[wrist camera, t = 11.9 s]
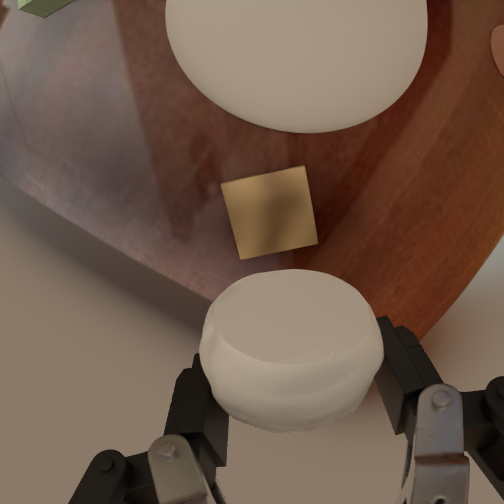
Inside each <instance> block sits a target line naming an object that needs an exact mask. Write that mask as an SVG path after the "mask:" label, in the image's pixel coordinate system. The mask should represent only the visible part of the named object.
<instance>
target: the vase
mask: <svg viewBox="0 0 504 504" xmlns="http://www.w3.org/2000/svg"><path fill="white" fill-rule="evenodd" d="M165 19H166V29H167V34H168V39H169V42H170V45H171V48H172V51H173V53H174V55H175V57H176V59H177V61H178V63H179V65H180V67H181V68H182V70H183V71H184V73H185V74H186V75H187V77H188V78H189V79H190V81H191V82H192V83H193V84H194V85H195V86H196V87H197V88H198V89H199V90H200V91H201V92H202V93H203V94H204V95H205V96H206V97H208V98H209V99H210V100H211V101H213V102H214V103H215V104H217V105H218V106H220V107H221V108H223V109H224V110H226V111H228V112H229V113H231V114H233V115H235V116H237V117H239V118H241V119H243V120H246V121H248V122H251V123H254V124H256V125H259V126H263V127H266V128H270V129H275V130H280V131H286V132H295V133H321V132H330V131H336V130H340V129H345V128H348V127H351V126H354V125H357V124H360V123H362V122H365V121H367V120H369V119H371V118H373V117H375V116H376V115H378V114H380V113H381V112H383V111H384V110H386V109H387V108H388V107H389V106H391V105H392V104H393V103H394V102H395V101H396V100H397V99H398V98H399V97H400V96H401V95H402V94H403V93H404V92H405V91H406V89H407V88H408V87H409V85H410V84H411V82H412V81H413V79H414V77H415V75H416V73H417V71H418V69H419V67H420V64H421V61H422V58H423V55H424V51H425V45H426V38H427V5H426V0H167V1H166V10H165Z"/></svg>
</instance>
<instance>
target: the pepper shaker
mask: <svg viewBox="0 0 504 504" xmlns="http://www.w3.org/2000/svg"><path fill="white" fill-rule="evenodd" d="M490 44H491V52H492V55H493V58H494V61H495V63H496V65H497V67H498V69H499V71H500V72H501V74H502V75H503V76H504V24H503V25H498V26H497V27H495V28H494V29H493V31H492V33H491V39H490Z"/></svg>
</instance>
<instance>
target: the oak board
mask: <svg viewBox="0 0 504 504" xmlns="http://www.w3.org/2000/svg"><path fill="white" fill-rule="evenodd" d="M221 188H222V192H223V196H224V200H225V203H226V207H227V211H228V215H229V218H230V222H231V226H232V230H233V233H234V237H235V241H236V245H237V248H238V252H239V256H240V259H241V260H243V259H248V258H253V257H258V256H262V255H267V254H272V253H277V252H281V251H286V250H291V249H296V248H300V247H305V246H310V245H314V244H318V238H317V232H316V226H315V220H314V214H313V208H312V203H311V197H310V192H309V186H308V181H307V176H306V170H305V166H304V165H300V166H295V167H290V168H285V169H280V170H276V171H271V172H266V173H262V174H257V175H252V176H248V177H244V178H239V179H235V180H231V181H227V182H222V183H221Z"/></svg>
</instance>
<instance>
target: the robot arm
mask: <svg viewBox="0 0 504 504" xmlns="http://www.w3.org/2000/svg"><path fill="white" fill-rule="evenodd" d="M376 321H377V323H378V325H379V328H380V332H381V336H382V340H383V347H384V358H383V362H382V364H381V366H380V368H379V370H378V371H377V373H376V374H375V376H374V380H375V382H376V385H377V387H378V390H379V392H380V395H381V398H382V400H383V403H384V405H385V408H386V410H387V413H388V416H389V419H390V421H391V424H392V427H393V429H394V432H395V435H398V434H401V433H405V435H406V438H407V440H408V441H407V445H406V451H405V458H404V466H403V472H402V478H401V484H400V490H399V494H398V498H397V501H396V504H468V494H469V475H470V474H469V473H470V463H469V458H468V457H467V456H464V451H467V452H468V453H469V455H470V456H471V457H472V459H473V460H474V461H475V462H476V464H477V465H478V466H479V468H480V469H481V470H482V472H483V473H484V474H485V476H486V477H487V478H488V480H489V481H490V483H491V484H492V485H493V486H494V488H495V489H496V491H497V492H498V493H499V495H500V496H501V498H502V499H503V500H504V376H500V377H497V378H495V379H493V380H492V381H490V382H489V384H488V385H487V387H486V390H479V391H471V392H459V391H458V390H457V389H456V388H454V387H453V386H451V385H448V384H444V382H443V381H442V379H441V378H440V376H439V374H438V372H437V371H436V369H435V367H434V366H433V364H432V362H431V361H430V359H429V358H428V356H427V354H426V352H424V349H423V348H422V346H421V345H420V344H419V341H418V340H417V338H416V336H415V335H414V333H413V332H411V331H410V330H408V329H407V328H405V327H404V326H403V325H402V326H399V327H396V328H394V327H393V325H392V323H391V321H390V320H389V318H388V317H387V316H383V317H379V318H376ZM228 425H229V414H228V413H227V412H226V411H225V410H223V409H222V407H221V406H220V405H219V404H218V403H217V401H216V400H215V398H214V397H213V394H212V390H211V385H210V383H209V381H208V379H207V377H206V375H205V373H204V371H203V368H202V365H201V361H200V355H199V353H196V354H195V356H194V360H193V365H192V368H187V369H184V370H183V371H182V372H181V374H180V375H179V377H178V378H177V380H176V383H175V388H174V393H173V396H172V402H171V405H170V409H169V413H168V417H167V422H166V426H165V431H164V435H163V436H162V437H160V438H158V439H157V440H155V441H154V442H153V443H152V445H151V446H150V448H149V450H148V451H147V452H144V453H140V454H137V455H132V456H128V457H124V456H123V455H122V454H121V453H120V452H119V451H116V450H105V451H102V452H100V453H99V454H97V455H96V456H95V457H94V458H93V460H92V461H91V463H90V465H89V467H88V469H87V470H86V472H85V474H84V476H83V478H82V479H81V481H80V483H79V485H78V487H77V488H76V490H75V492H74V494H73V496H72V498H71V500H70V501H69V503H68V504H228V502H227V501H226V498H225V496H224V494H223V492H222V489H221V487H220V485H219V483H218V480H217V479H216V467H224V466H226V459H227V442H228Z"/></svg>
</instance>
